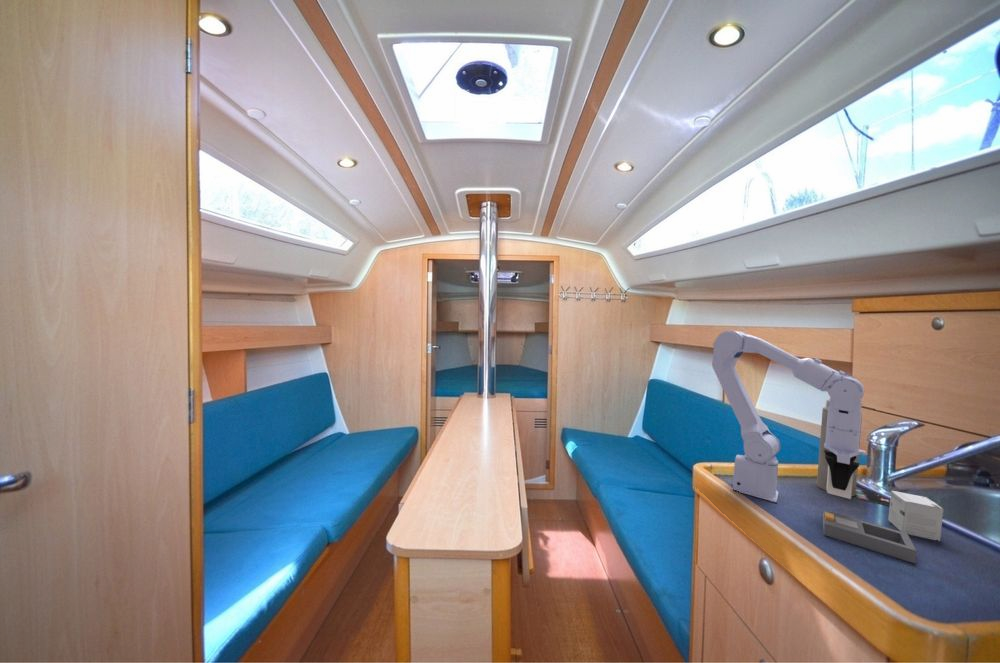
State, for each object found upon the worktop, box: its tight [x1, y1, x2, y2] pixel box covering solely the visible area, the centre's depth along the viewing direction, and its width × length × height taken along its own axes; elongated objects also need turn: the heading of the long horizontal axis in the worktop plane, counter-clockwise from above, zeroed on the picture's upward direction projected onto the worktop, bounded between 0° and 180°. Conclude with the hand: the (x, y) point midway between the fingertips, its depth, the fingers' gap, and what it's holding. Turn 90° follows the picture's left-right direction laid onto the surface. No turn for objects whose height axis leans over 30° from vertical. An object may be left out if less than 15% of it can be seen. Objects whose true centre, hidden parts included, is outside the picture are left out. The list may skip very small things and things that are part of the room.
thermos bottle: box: [816, 398, 863, 497], centre depth 100 cm, size 8×8×28 cm
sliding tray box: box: [822, 509, 917, 564], centre depth 76 cm, size 13×8×3 cm, turn 50°
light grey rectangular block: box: [826, 465, 853, 500], centre depth 84 cm, size 4×4×7 cm
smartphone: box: [854, 488, 890, 508], centre depth 94 cm, size 8×15×1 cm, turn 56°
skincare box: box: [888, 490, 944, 542], centre depth 80 cm, size 6×6×7 cm
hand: (838, 485), depth 84 cm, fingers closed on light grey rectangular block, 4 cm apart
